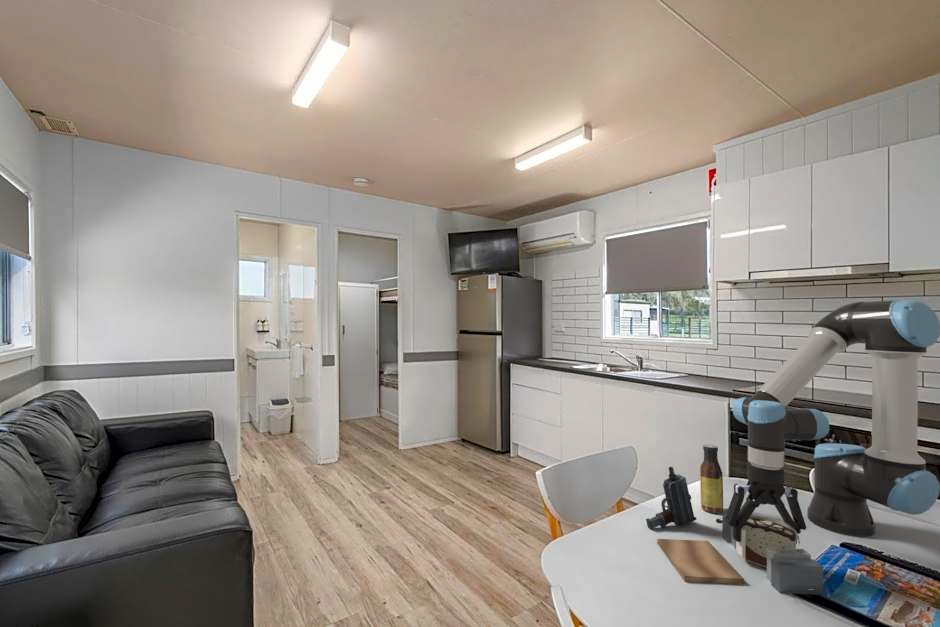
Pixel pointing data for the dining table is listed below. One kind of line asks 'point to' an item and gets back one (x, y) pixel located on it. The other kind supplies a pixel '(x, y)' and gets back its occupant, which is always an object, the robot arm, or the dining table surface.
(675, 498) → the gun
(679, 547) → the light brown board
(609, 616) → the dining table surface
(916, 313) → the robot arm
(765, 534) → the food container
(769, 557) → the grey blocks
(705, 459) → the sauce bottle
